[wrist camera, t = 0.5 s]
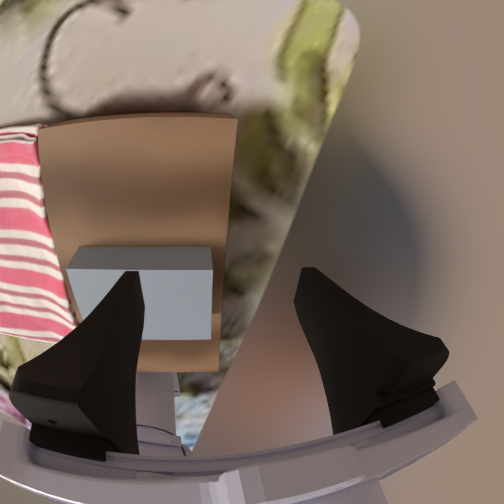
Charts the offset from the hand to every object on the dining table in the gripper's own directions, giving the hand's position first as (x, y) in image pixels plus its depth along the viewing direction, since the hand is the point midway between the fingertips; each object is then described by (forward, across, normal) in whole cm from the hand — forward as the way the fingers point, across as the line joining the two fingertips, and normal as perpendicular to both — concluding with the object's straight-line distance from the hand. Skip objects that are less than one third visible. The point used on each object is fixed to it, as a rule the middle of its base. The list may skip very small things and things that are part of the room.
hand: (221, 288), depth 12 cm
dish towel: (+11, +21, +4) cm, 24 cm away
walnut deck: (+10, +5, +4) cm, 12 cm away
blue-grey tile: (+6, +5, +4) cm, 9 cm away
